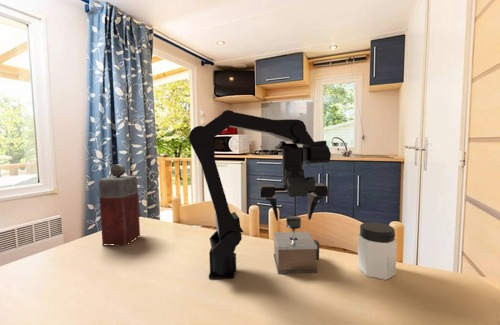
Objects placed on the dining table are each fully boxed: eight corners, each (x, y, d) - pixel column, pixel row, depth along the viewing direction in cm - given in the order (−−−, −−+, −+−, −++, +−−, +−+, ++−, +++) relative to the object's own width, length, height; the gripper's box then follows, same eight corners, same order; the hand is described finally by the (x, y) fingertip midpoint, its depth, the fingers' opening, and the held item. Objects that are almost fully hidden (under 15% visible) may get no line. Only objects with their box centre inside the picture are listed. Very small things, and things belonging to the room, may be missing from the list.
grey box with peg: (277, 273, 65) (277, 246, 64) (273, 255, 75) (273, 232, 74) (323, 272, 65) (323, 245, 64) (313, 254, 75) (313, 231, 74)
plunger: (281, 262, 66) (281, 223, 65) (278, 250, 74) (277, 214, 73) (311, 262, 66) (311, 222, 65) (304, 249, 74) (304, 213, 73)
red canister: (143, 234, 95) (140, 162, 93) (125, 246, 84) (121, 165, 82) (122, 233, 96) (118, 162, 94) (102, 245, 85) (96, 165, 83)
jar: (382, 283, 59) (383, 235, 58) (352, 269, 66) (352, 226, 65) (400, 272, 64) (402, 227, 63) (370, 260, 71) (371, 220, 70)
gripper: (261, 169, 60) (262, 230, 61) (336, 167, 61) (335, 229, 62) (259, 165, 71) (259, 217, 73) (322, 164, 72) (322, 216, 73)
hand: (293, 219), depth 70 cm, fingers open, 9 cm apart
